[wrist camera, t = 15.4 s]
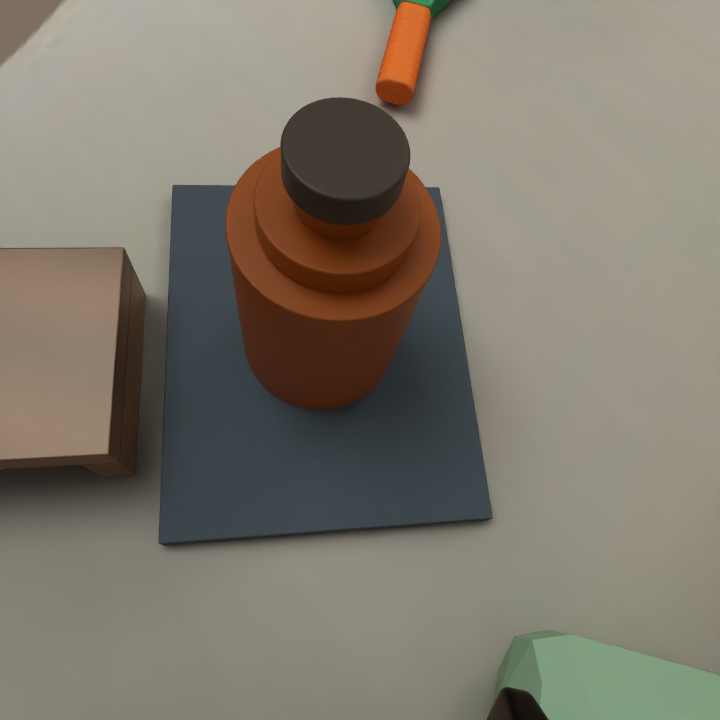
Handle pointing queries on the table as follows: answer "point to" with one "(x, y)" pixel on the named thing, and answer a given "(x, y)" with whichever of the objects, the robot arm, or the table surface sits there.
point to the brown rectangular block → (70, 359)
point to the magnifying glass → (406, 49)
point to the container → (605, 681)
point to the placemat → (306, 413)
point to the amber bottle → (330, 253)
